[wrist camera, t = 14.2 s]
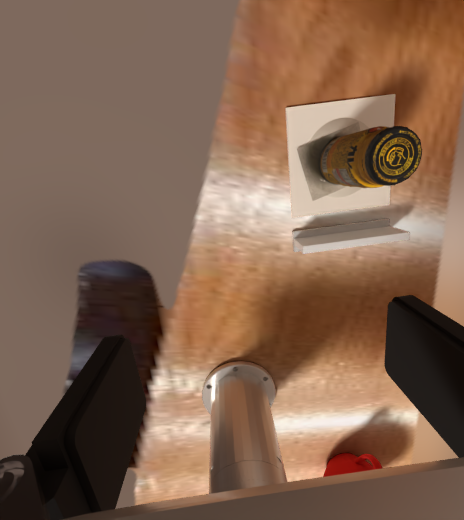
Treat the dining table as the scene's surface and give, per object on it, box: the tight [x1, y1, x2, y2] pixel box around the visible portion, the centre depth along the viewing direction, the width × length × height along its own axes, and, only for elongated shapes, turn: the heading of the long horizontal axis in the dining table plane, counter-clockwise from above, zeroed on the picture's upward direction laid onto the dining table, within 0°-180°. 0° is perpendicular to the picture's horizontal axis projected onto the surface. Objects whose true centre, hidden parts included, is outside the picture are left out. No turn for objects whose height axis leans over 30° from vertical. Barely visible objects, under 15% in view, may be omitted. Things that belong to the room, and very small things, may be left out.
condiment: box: [297, 122, 422, 201], centre depth 31 cm, size 7×8×12 cm
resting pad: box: [285, 94, 395, 218], centre depth 37 cm, size 14×14×1 cm
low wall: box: [292, 219, 410, 254], centre depth 38 cm, size 3×14×5 cm, turn 97°
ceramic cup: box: [323, 453, 382, 477], centre depth 49 cm, size 13×17×10 cm
